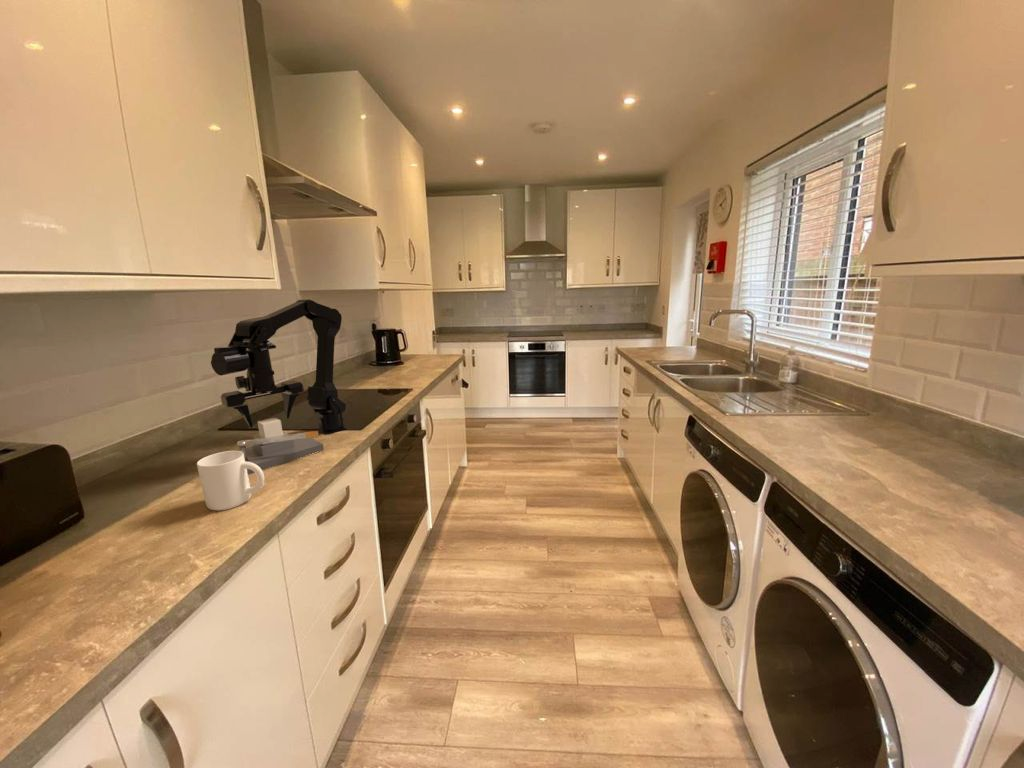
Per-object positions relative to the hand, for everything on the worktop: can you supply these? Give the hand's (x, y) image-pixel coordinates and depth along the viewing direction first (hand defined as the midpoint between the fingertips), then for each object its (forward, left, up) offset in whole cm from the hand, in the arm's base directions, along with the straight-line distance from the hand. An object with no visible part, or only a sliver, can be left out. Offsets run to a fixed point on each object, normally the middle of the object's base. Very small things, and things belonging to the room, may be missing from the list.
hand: (269, 422), depth 113 cm
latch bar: (+1, +7, -3) cm, 8 cm away
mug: (+15, +22, -10) cm, 28 cm away
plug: (0, 0, -7) cm, 7 cm away
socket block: (0, 0, -9) cm, 9 cm away
